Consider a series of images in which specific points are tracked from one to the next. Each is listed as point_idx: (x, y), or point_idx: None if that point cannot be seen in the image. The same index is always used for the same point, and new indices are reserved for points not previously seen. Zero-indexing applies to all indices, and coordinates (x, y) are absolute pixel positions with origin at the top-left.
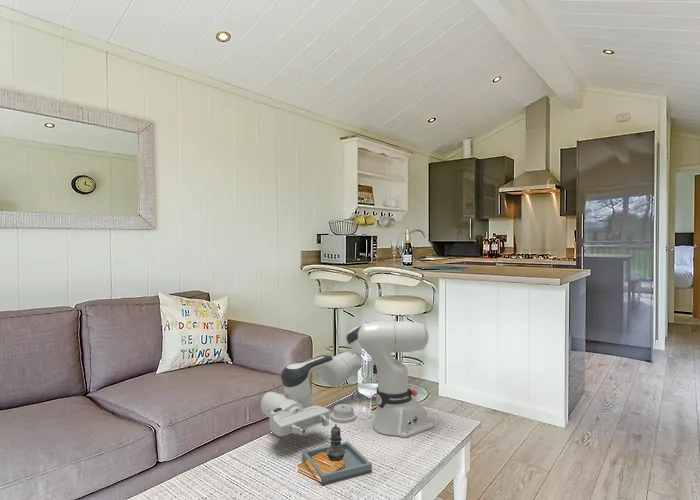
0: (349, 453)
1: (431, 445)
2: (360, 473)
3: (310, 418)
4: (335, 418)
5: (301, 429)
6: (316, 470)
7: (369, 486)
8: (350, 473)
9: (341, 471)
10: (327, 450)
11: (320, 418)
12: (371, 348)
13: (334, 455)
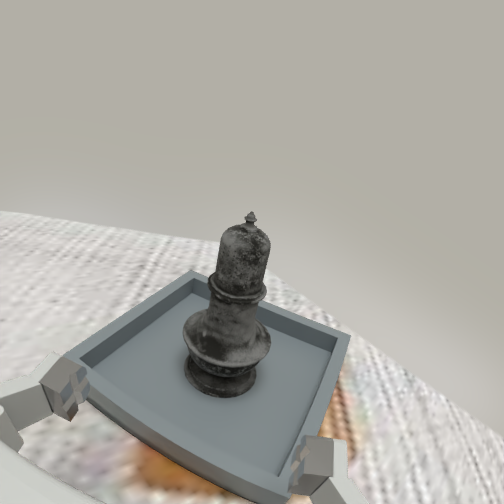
0: (120, 355)
1: (12, 230)
2: None
3: (88, 496)
4: None
5: (342, 443)
6: (341, 366)
7: None
8: None
9: (285, 310)
10: (247, 358)
11: (3, 434)
12: None
13: (260, 324)
